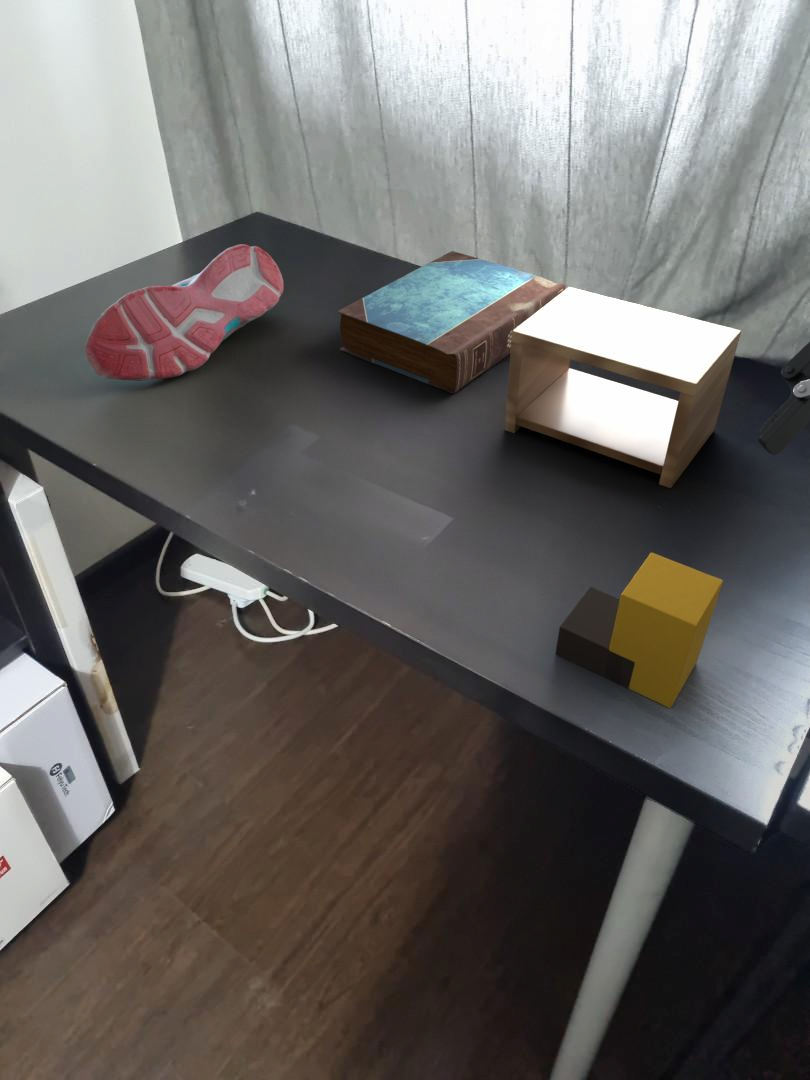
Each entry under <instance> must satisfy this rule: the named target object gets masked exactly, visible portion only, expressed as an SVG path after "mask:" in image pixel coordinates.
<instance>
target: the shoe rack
mask: <svg viewBox="0 0 810 1080" xmlns="http://www.w3.org/2000/svg"><path fill="white" fill-rule="evenodd" d="M741 333H742V330H740V329H736V328H733V327H728V326H725V325H721V324H717V323H712V322H709V321H705V320H701V319H698V318H693V317H689V316H686V315H681V314H678V313H674V312H670V311H666V310H661V309H658V308H654V307H650V306H645V305H642V304H638V303H634V302H630V301H627V300H623V299H622V300H621V299H618V298H615V297H611V296H608V295H607V296H606V295H602V294H600V293H596V292H591V291H587V290H582V289H579V288H575V287H571V286H568V287H567V288H565V290H564V291H563V292H562V293H560V294H559V295H558V296H557V297H555V298H554V299H553V300H552V301H550V302H549V303H548V304H546V305H545V306H544V307H543V308H541V309H540V310H539V311H537V312H536V313H535V314H534V315H532V316H531V317H530V318H528V319H527V320H526V321H525V322H523V323H522V324H521V325H519V326H518V327H517V328H516V329H514V330H513V331H512V343H511V354H509V355H510V356H509V367H508V369H509V370H508V382H507V394H506V407H505V422H504V431H506V432H509V433H512V434H515V433H517V432H518V431H519V430H520V429H521V428H524V429H527V430H530V431H534V432H536V433H539V434H542V435H545V436H547V437H550V438H554V439H557V440H560V441H562V442H565V443H568V444H571V445H574V446H576V447H580V448H583V449H586V450H588V451H591V452H594V453H597V454H600V455H602V456H606V457H608V458H611V459H614V460H617V461H620V462H623V463H625V464H629V465H632V466H634V467H636V468H640V469H643V470H646V471H649V472H651V473H654V474H657V475H660V478H659V482H658V484H659V485H660V486H662V487H665V488H669V489H672V487H674V485H675V483H676V482H677V481H678V480H679V478H680V476H681V475H682V474H683V472H685V470H686V469H687V467H688V466H689V464H690V463H691V462H692V461H693V459H694V458H695V457H696V455H697V454H698V452H699V451H700V450H701V448H703V446H704V445H705V443H706V442H707V441H708V439H709V438H710V437H711V435H712V434H713V433H714V431H715V429H716V426H717V422H718V418H719V415H720V411H721V406H722V404H723V399H724V396H725V392H726V389H727V386H728V382H729V378H730V375H731V371H732V366H733V363H734V360H735V355H736V352H737V349H738V345H739V341H740V338H741ZM571 361H574V362H578V363H580V364H584V365H588V366H591V367H594V368H598V369H602V370H605V371H608V372H612V373H615V374H618V375H621V376H623V377H628V378H631V379H635V380H638V381H642V382H645V383H649V384H651V385H655V386H659V387H661V388H665V389H669V390H671V391H675V392H679V397H678V400H676V399H673V398H670V397H666V396H664V395H663V396H662V395H660V394H656V393H653V392H650V391H647V390H643V389H640V388H638V387H637V388H636V387H634V386H630V385H627V384H624V383H620V382H617V381H613V380H610V379H606V378H605V377H600V376H597V375H593V374H590V373H587V372H583V371H580V370H577V369H573V368H570V363H571Z"/></svg>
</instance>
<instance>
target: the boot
mask: <svg viewBox="0 0 810 1080" xmlns="http://www.w3.org/2000/svg"><path fill="white" fill-rule="evenodd" d="M646 557H647V558H646V559H645V560H644V561H643V563H642V564H641V566H640V567H639V569H638V570H637V571H636V573H635V574H634V576H633V577H632V579H631V580H630V581H629V583H628V584H627V585H626V587H625V588H624V589H623V591H622V593H621V594H620V598H619V597H616V596H613V595H611V594H608V593H607V592H604V591H602V590H599V589H597V588H594V587H592V586H590V587H589V588H588V589H587V590H586V591H585V593H584V594H583V596H582V597H581V598H580V600H579V601H578V602H577V603H576V605H575V606H574V607H573V608H572V610H571V611H570V612H569V614H568V615H567V616H566V618H565V619H564V620H563V622H562V623H561V624H560V626H559V630H558V635H557V642H556V648H555V655H557V656H559V657H561V658H563V659H565V660H567V661H569V662H571V663H573V664H576V665H578V666H580V667H582V668H584V669H586V670H588V671H591V672H592V673H594V674H597V675H599V676H601V677H603V678H604V679H608V680H609V681H612V682H613V683H615V684H618V685H620V686H622V687H624V688H626V689H629V690H631V691H633V692H635V693H637V694H639V695H642V696H643V697H646V698H647V699H650V700H651V701H654V702H656V703H658V704H660V705H662V706H664V707H666V708H669V709H671V708H672V707H673V705H674V703H675V702H676V700H677V698H678V697H679V694H680V693H681V691H682V689H683V688H684V686H685V684H686V682H687V680H688V678H689V677H690V675H691V674H692V671H693V669H694V668H695V667H696V665H697V663H698V660H699V656H700V653H701V650H702V647H703V644H704V641H705V638H706V635H707V632H708V628H709V626H710V624H711V620H712V617H713V613H714V611H715V608H716V605H717V602H718V599H719V596H720V593H721V590H722V587H723V583H724V580H723V579H721V578H719V577H716V576H713V575H710V574H709V573H706V572H703V571H700V570H697V569H695V568H693V567H690V566H687V565H684V564H682V563H680V562H677V561H675V560H672V559H669V558H667V557H664V556H662V555H660V554H658V553H654V552H650V553H649V555H648V556H646Z"/></svg>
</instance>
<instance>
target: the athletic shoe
mask: <svg viewBox="0 0 810 1080" xmlns="http://www.w3.org/2000/svg"><path fill="white" fill-rule="evenodd" d="M283 292H284V279H283V275H282V273H281V270H280V268H279V266H278V264H277V262H276V261H275V260H274V259H273V258H272V256H271V255H270V254H269V253H268V252H267V251H265V250H264V249H262V248H261V247H259V246H257V245H253V246H250V245H248V244H243V243H241V244H236V245H233V246H231V247H228V248H226V249H224V250H223V251H222V252H220V253H219V254H218V255H217V256H216V257H214V258H213V259H212V260H211V261H210V262H209V263H208V265H207V266H205V268H203V270H201V272H200V273H197V274H194V275H193V276H191V277H189V278H186V279H183V280H181V281H179V282H176V283H175V284H172V285H150V286H146V287H143V288H139V289H135V290H133V291H130V292H128V293H126V294H124V295H123V296H121V298H119V299H118V300H116V302H114V303H113V304H111V305H109V307H107V308H106V309H105V310H104V311H103V312H102V313H101V315H100V316H99V317H98V318H97V319H96V320H95V321H94V322H93V325H92V327H91V329H90V332H89V335H88V337H87V340H86V342H85V345H84V351H85V352H84V353H85V355H86V359H87V361H88V363H89V364H90V366H91V367H92V369H93V370H94V372H95V373H96V374H97V375H98V376H99V378H101V379H103V380H117V381H131V382H141V381H151V380H165V379H170V378H174V377H180V376H181V375H183V374H184V373H186V372H192V371H194V370H196V369H198V368H200V367H201V366H203V365H204V364H205V363H207V362H208V360H209V358H210V356H211V354H213V353H214V352H215V351H216V350H217V349H218V347H219V346H220V345H221V343H222V342H223V341H225V340H226V339H227V338H228V337H230V336H231V335H232V334H234V333H235V332H236V331H237V330H239V329H240V328H242V327H244V326H245V325H247V324H249V323H251V322H252V321H254V320H257V319H258V318H260V317H262V316H263V315H265V313H266V312H268V311H269V310H272V309H273V308H274V307H275V306H276V305H277V304H278V303H279V301H280V297H281V296H282V294H283Z"/></svg>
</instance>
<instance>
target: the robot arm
mask: <svg viewBox="0 0 810 1080" xmlns="http://www.w3.org/2000/svg"><path fill="white" fill-rule="evenodd" d="M780 371H781V372H780V374H781V376H782V377H783V379H784V380H785V382H786V384H787V385H788V387H789V388H790V396H789V397H788V398H787V400H786V401H784V402H783V404H782V405H781V406H780V407H779V408H778V409H777V410H776V411H775V412H774V413H773V414H772V415H771V416H770V417H769V419H767V420H766V421H765V422H764V423H763V425H762V427H761V428H760V431H759V433H760V434H761V435H760V436H759V438H758V443H759V444H760V445H761V447H762V448H763V449H764V450H765V451H766V452H768V453H769V454H771V455H772V456H776V455H778V454H780V453H781V452H782V451H783V450H784V449H785V448H786V447H787V446H788V445H789V443H791V442H792V440H793V439H795V437H796V436H797V435H799V434H800V432H801V431H803V429H804V428H805V427H807V425H808V424H809V423H810V341H808V342H807V343H806V344H805V345H804V346H803V347H802V348H800V350H799V351H798V352H797V353H796V354H795V355H794V356H793V357H792V358H790V359H789V360H788V362H786V364H785V365H783V367H782V368H781V370H780Z"/></svg>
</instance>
